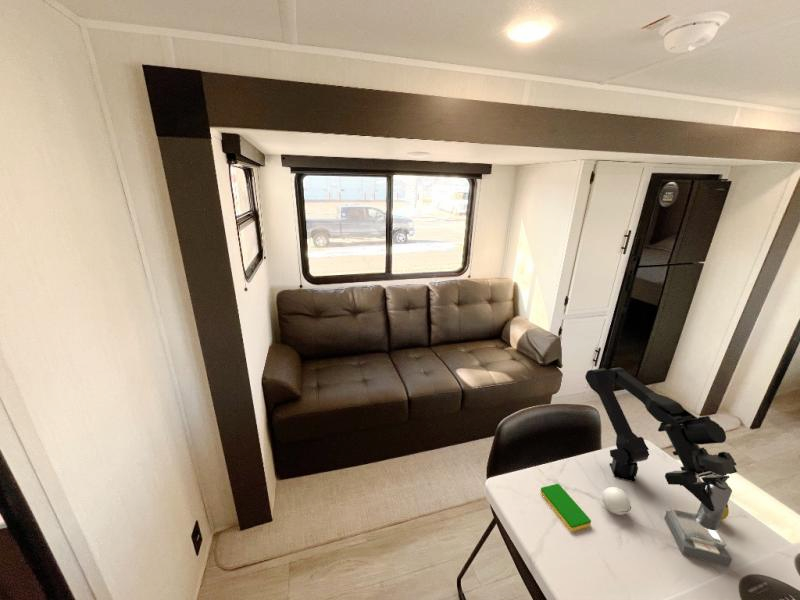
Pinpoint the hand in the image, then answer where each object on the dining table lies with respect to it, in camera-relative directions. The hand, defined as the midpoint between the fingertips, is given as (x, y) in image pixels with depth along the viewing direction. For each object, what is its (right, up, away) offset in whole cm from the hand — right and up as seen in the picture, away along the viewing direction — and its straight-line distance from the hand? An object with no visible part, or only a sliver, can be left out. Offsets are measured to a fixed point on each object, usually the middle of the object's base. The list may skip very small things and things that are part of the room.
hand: (719, 509), depth 84 cm
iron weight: (0, -6, +3) cm, 7 cm away
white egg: (-17, -10, +15) cm, 25 cm away
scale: (-2, -12, +5) cm, 13 cm away
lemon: (+10, -11, +12) cm, 19 cm away
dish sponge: (-34, -10, +15) cm, 39 cm away
